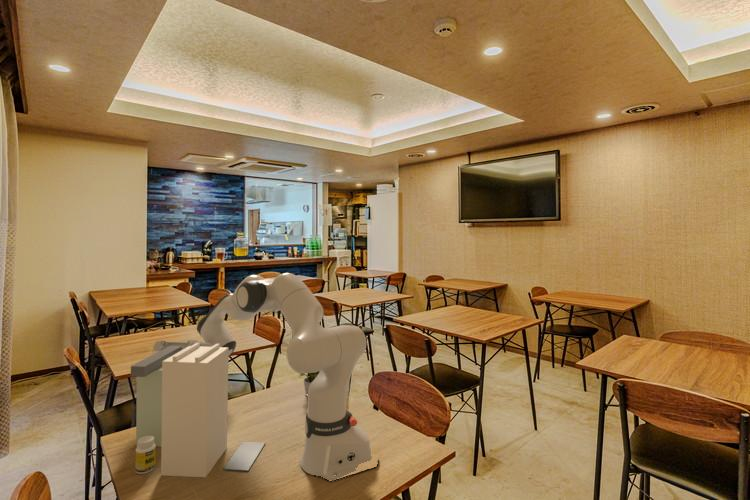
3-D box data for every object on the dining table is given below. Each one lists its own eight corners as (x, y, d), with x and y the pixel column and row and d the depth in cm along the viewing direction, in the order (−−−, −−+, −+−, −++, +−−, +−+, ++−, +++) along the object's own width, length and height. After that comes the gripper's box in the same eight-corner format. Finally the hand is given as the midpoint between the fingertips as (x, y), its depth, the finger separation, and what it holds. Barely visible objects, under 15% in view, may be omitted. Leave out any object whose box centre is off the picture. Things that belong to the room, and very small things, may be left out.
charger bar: (169, 354, 129) (169, 345, 129) (181, 355, 129) (181, 346, 129) (130, 376, 109) (130, 366, 109) (144, 377, 109) (144, 366, 109)
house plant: (303, 406, 145) (304, 364, 145) (286, 394, 156) (287, 354, 155) (334, 397, 155) (335, 357, 154) (316, 386, 165) (317, 348, 164)
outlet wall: (188, 445, 117) (190, 341, 115) (227, 447, 116) (229, 343, 115) (161, 475, 102) (162, 356, 101) (205, 477, 102) (207, 358, 101)
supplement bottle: (146, 475, 102) (146, 445, 101) (130, 473, 103) (131, 442, 102) (159, 465, 107) (159, 435, 106) (145, 462, 107) (145, 433, 107)
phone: (243, 444, 119) (243, 441, 119) (265, 445, 119) (265, 442, 119) (223, 472, 105) (223, 468, 105) (247, 474, 105) (247, 470, 105)
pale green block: (155, 428, 126) (156, 358, 125) (179, 429, 126) (180, 359, 125) (136, 445, 116) (136, 369, 115) (162, 446, 116) (162, 370, 115)
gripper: (166, 342, 143) (147, 332, 130) (221, 345, 142) (206, 335, 130) (161, 359, 140) (141, 351, 127) (217, 362, 139) (202, 354, 127)
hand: (174, 343), depth 129 cm, fingers open, 8 cm apart
